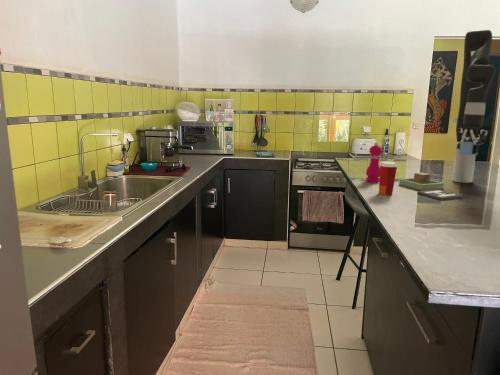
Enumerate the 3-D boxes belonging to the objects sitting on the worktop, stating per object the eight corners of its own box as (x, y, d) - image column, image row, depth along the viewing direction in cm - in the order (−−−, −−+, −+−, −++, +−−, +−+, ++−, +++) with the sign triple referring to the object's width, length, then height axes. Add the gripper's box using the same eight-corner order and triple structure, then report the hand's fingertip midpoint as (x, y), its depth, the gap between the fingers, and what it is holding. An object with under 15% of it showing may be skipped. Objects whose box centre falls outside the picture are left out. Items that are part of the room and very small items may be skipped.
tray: (419, 183, 198) (420, 177, 197) (443, 189, 186) (443, 183, 185) (398, 184, 192) (399, 179, 192) (421, 191, 180) (422, 184, 179)
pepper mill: (380, 183, 195) (384, 143, 191) (365, 182, 197) (369, 142, 192) (379, 180, 202) (383, 142, 198) (364, 179, 204) (368, 141, 199)
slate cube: (467, 153, 173) (468, 141, 172) (477, 154, 169) (479, 143, 168) (459, 153, 171) (460, 142, 170) (469, 155, 167) (471, 143, 166)
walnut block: (420, 184, 192) (422, 172, 191) (428, 186, 188) (430, 174, 186) (413, 185, 190) (414, 173, 189) (421, 187, 186) (422, 174, 184)
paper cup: (394, 192, 175) (397, 162, 172) (394, 196, 168) (398, 164, 165) (376, 191, 177) (379, 160, 174) (375, 194, 170) (378, 163, 167)
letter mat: (437, 191, 180) (438, 189, 180) (463, 198, 169) (463, 195, 168) (417, 193, 175) (417, 191, 175) (441, 200, 163) (442, 198, 163)
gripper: (496, 114, 161) (489, 155, 165) (465, 112, 174) (459, 150, 178) (484, 114, 158) (477, 155, 162) (453, 112, 171) (448, 151, 175)
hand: (468, 152), depth 170 cm, fingers closed on slate cube, 5 cm apart
